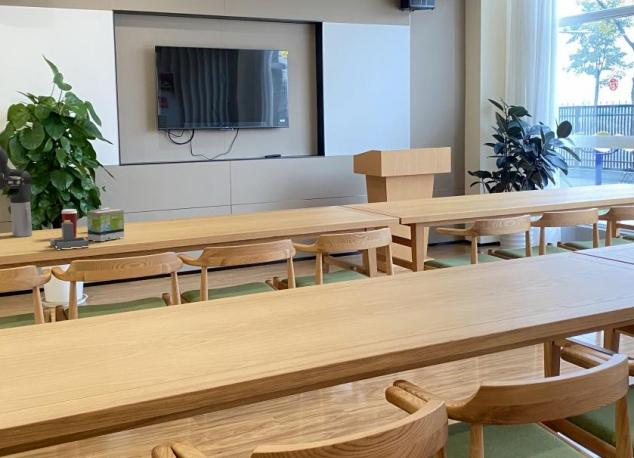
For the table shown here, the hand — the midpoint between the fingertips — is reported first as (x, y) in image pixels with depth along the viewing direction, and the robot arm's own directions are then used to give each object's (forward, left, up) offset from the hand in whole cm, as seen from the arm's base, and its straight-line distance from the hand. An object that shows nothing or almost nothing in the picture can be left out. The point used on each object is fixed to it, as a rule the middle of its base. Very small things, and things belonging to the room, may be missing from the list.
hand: (32, 180), depth 307 cm
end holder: (0, +15, -32) cm, 35 cm away
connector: (0, +14, -32) cm, 35 cm away
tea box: (-14, +34, -32) cm, 49 cm away
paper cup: (-28, +19, -32) cm, 47 cm away
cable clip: (-7, +9, -32) cm, 34 cm away
